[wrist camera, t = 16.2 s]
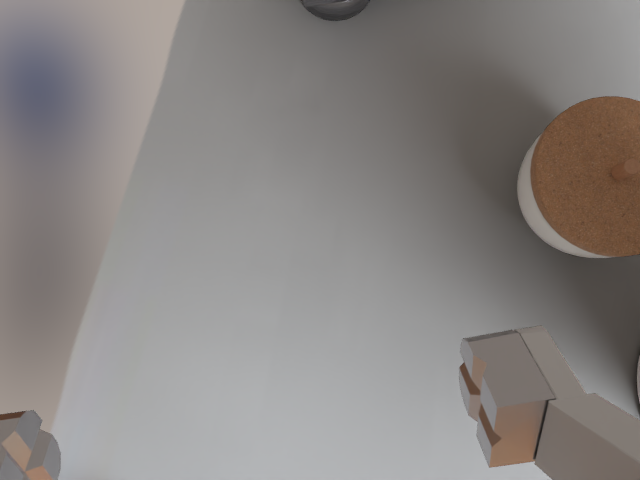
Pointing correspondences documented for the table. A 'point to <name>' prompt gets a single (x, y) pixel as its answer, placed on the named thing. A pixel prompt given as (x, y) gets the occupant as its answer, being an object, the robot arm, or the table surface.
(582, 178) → the lidded jar
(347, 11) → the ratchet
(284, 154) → the table surface
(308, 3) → the grey metal block
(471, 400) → the robot arm
